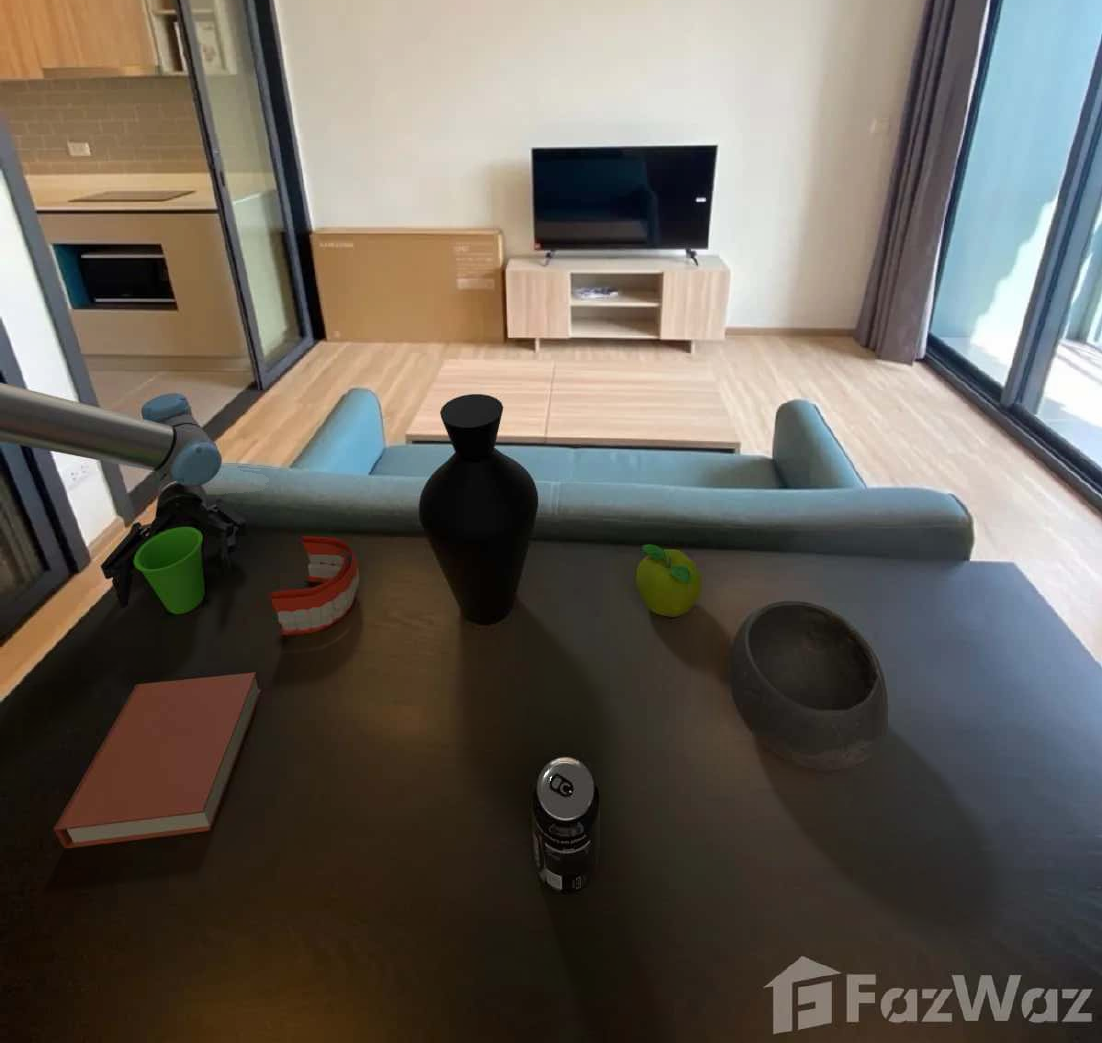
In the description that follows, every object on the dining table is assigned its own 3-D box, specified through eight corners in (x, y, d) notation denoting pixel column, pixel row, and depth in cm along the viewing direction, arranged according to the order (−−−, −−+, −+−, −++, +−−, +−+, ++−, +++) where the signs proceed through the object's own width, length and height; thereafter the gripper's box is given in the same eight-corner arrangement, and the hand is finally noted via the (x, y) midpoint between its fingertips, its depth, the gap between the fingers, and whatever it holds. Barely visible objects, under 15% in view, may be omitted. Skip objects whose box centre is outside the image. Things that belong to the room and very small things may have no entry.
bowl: (907, 744, 72) (930, 673, 67) (811, 837, 64) (830, 763, 59) (785, 634, 86) (797, 569, 82) (694, 698, 78) (702, 629, 73)
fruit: (663, 642, 85) (667, 591, 82) (624, 596, 93) (626, 547, 89) (710, 614, 90) (716, 564, 86) (669, 573, 97) (673, 525, 93)
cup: (172, 635, 88) (152, 580, 84) (141, 609, 93) (121, 555, 88) (230, 593, 95) (214, 540, 91) (199, 570, 100) (182, 518, 95)
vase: (420, 581, 97) (395, 395, 83) (517, 547, 103) (508, 369, 90) (449, 670, 82) (424, 462, 69) (560, 624, 89) (556, 425, 76)
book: (64, 848, 64) (53, 829, 63) (143, 702, 79) (136, 684, 77) (210, 830, 65) (202, 811, 64) (261, 690, 80) (255, 672, 79)
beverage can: (554, 806, 67) (552, 737, 62) (609, 843, 64) (611, 772, 59) (521, 872, 61) (517, 802, 57) (580, 916, 58) (580, 845, 54)
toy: (348, 639, 87) (339, 599, 84) (278, 639, 87) (267, 599, 84) (372, 572, 99) (366, 534, 96) (311, 572, 99) (302, 535, 96)
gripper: (261, 493, 114) (270, 569, 96) (105, 540, 103) (82, 635, 85) (253, 461, 111) (260, 533, 93) (91, 505, 100) (65, 596, 83)
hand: (175, 582), depth 89 cm, fingers open, 13 cm apart
